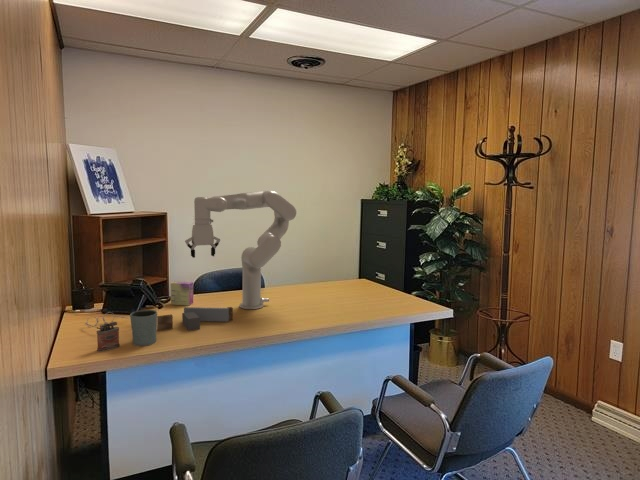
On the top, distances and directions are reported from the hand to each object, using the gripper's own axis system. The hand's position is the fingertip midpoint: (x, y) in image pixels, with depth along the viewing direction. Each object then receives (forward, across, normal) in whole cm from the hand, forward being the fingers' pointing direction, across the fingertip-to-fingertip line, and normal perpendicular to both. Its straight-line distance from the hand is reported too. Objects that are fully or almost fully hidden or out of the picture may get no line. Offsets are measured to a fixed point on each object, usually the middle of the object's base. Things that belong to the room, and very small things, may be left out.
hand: (203, 256), depth 212 cm
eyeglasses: (+28, +43, +7) cm, 52 cm away
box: (+28, +6, -20) cm, 35 cm away
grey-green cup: (+28, +34, +31) cm, 54 cm away
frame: (+28, +9, +19) cm, 35 cm away
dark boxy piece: (+28, +12, +21) cm, 37 cm away
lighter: (+28, +47, +32) cm, 63 cm away
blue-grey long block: (+28, +4, +16) cm, 32 cm away
